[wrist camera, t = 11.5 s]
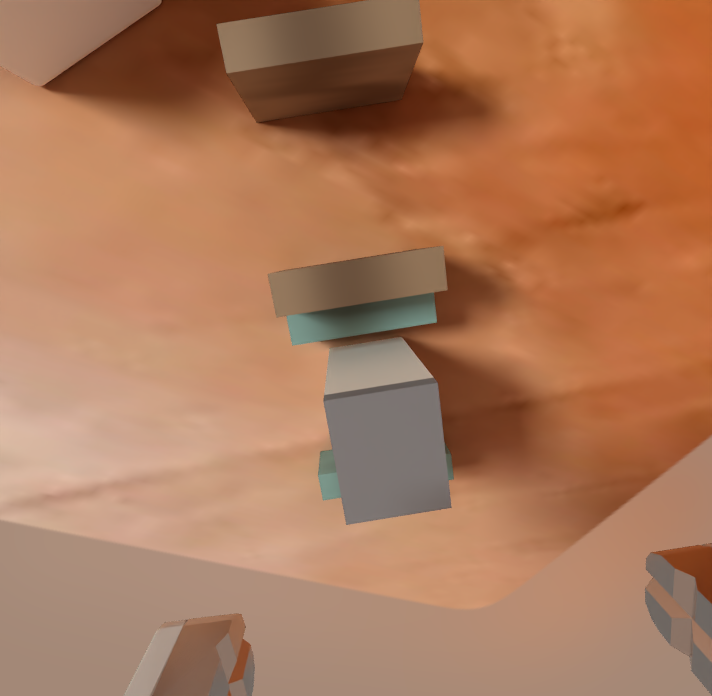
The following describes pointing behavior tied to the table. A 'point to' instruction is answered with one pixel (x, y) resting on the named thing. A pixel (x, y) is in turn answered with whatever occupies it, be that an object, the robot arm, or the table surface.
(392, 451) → the grey rectangular block
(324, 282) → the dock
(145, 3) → the medicine bottle
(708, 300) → the table surface
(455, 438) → the table surface
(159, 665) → the robot arm
